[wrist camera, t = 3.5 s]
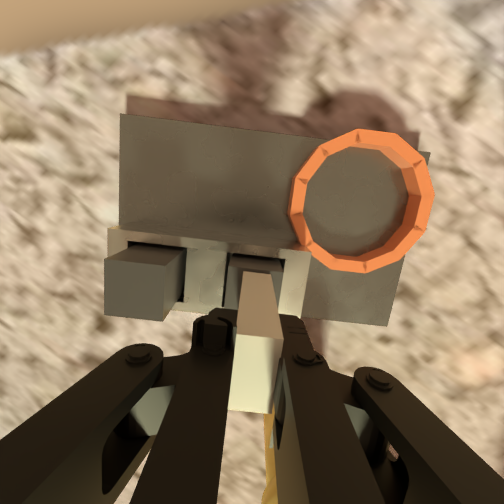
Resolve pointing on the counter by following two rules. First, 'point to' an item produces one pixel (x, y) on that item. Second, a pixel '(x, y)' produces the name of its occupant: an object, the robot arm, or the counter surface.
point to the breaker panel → (260, 213)
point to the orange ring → (414, 213)
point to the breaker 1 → (144, 281)
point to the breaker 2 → (250, 265)
